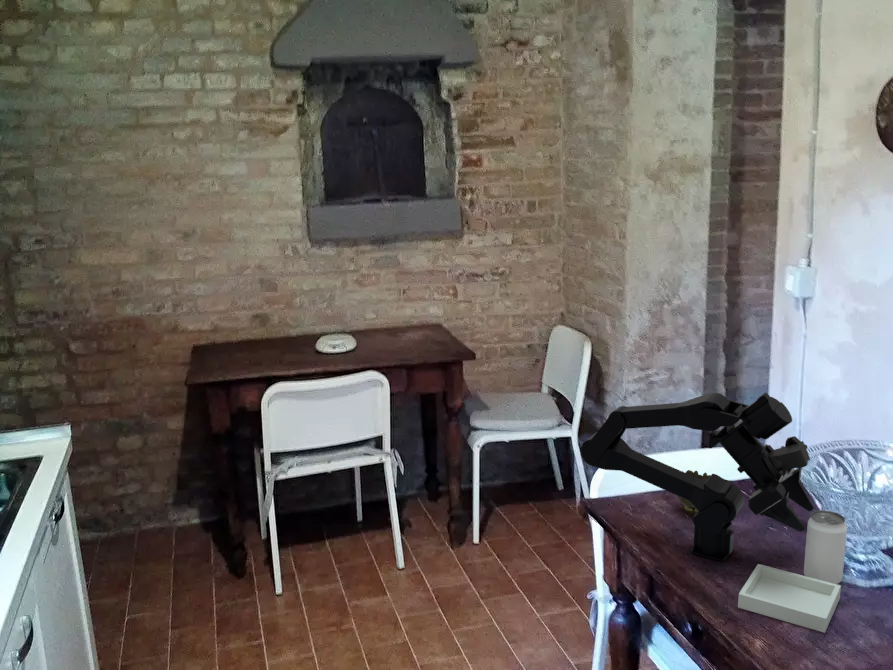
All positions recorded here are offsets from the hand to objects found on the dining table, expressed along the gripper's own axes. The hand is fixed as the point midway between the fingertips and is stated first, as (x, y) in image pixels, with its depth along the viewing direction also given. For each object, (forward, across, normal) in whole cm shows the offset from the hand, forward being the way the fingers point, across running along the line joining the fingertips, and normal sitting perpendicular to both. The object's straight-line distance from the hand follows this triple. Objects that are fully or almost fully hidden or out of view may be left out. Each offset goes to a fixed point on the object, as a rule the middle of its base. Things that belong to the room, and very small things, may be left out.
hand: (807, 519), depth 153 cm
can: (+10, 0, +5) cm, 11 cm away
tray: (+7, -12, +8) cm, 16 cm away
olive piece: (-10, +16, +25) cm, 31 cm away
